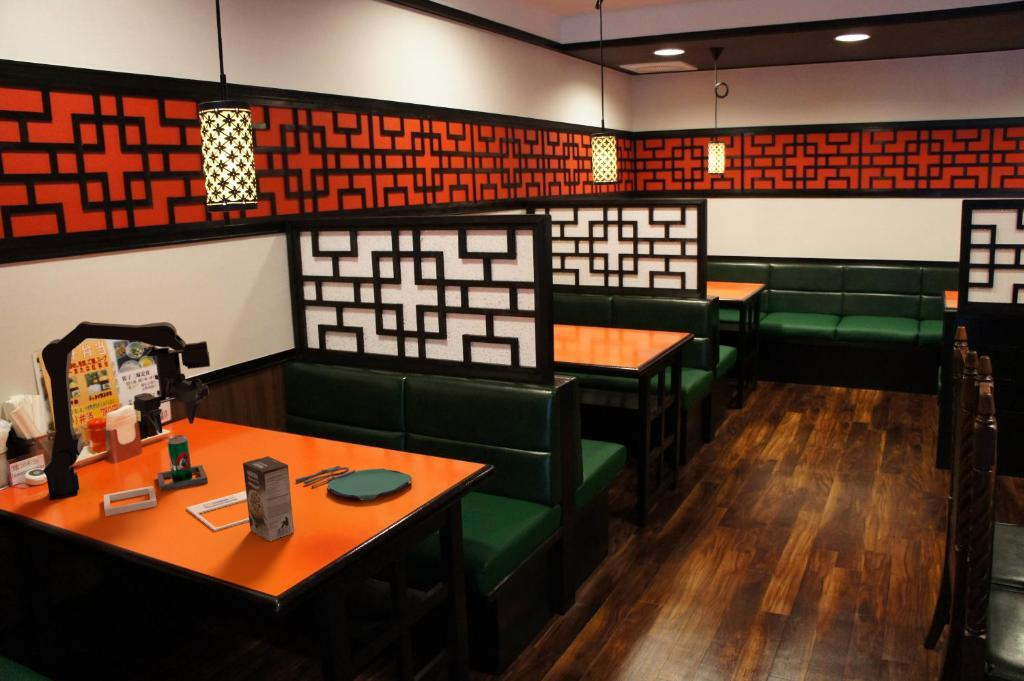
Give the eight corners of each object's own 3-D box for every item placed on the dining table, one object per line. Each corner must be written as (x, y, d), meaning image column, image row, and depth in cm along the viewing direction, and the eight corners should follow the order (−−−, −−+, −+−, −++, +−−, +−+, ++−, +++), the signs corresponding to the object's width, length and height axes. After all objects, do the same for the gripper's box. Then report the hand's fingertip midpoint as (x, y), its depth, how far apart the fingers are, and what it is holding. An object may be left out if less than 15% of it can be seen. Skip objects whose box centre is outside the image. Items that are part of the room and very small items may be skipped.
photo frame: (244, 490, 208) (275, 510, 194) (245, 494, 208) (276, 514, 194) (186, 506, 198) (214, 528, 185) (186, 511, 199) (214, 533, 185)
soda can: (196, 477, 221) (190, 434, 218) (187, 484, 216) (181, 440, 213) (178, 477, 221) (172, 434, 219) (168, 484, 216) (163, 440, 214)
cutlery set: (367, 510, 194) (366, 500, 194) (288, 487, 212) (287, 478, 212) (426, 484, 209) (425, 476, 209) (347, 465, 228) (346, 457, 227)
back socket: (161, 491, 211) (160, 486, 211) (157, 478, 221) (156, 473, 221) (207, 482, 216) (207, 477, 216) (202, 470, 226) (201, 465, 226)
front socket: (105, 516, 196) (104, 510, 196) (104, 500, 206) (103, 494, 206) (157, 506, 201) (156, 500, 201) (153, 491, 211) (153, 485, 211)
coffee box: (248, 531, 184) (241, 462, 181) (275, 522, 189) (268, 454, 186) (269, 542, 178) (261, 471, 175) (295, 533, 182) (288, 463, 179)
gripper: (155, 382, 204) (162, 442, 207) (218, 366, 219) (225, 422, 222) (128, 377, 210) (136, 436, 213) (192, 362, 225) (199, 417, 228)
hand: (176, 428), depth 219 cm, fingers open, 9 cm apart
